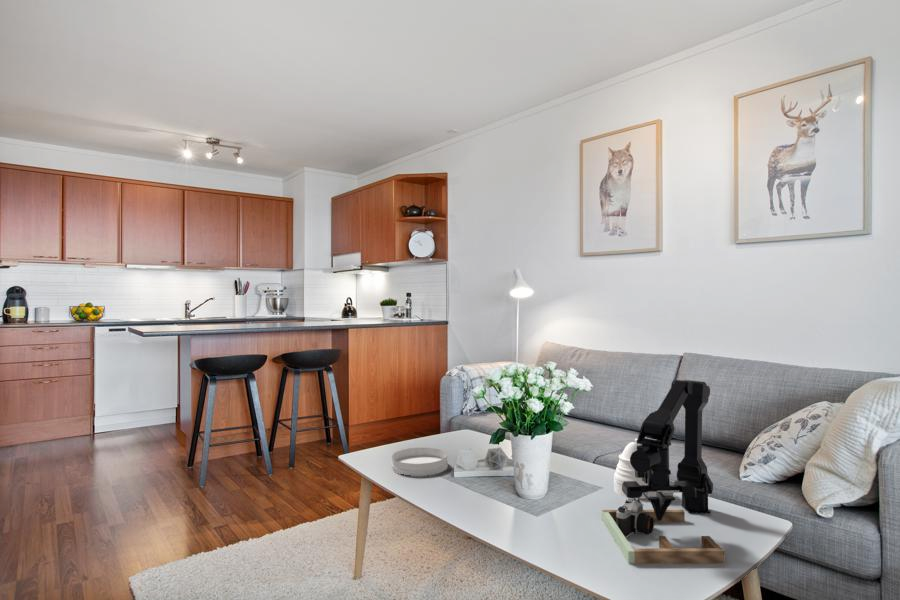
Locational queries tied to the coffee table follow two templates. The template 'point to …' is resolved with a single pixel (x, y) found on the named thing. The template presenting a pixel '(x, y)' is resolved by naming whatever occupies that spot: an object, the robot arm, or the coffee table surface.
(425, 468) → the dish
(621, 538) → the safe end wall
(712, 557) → the trap box
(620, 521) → the camera
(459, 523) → the coffee table surface
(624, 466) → the honey pot
